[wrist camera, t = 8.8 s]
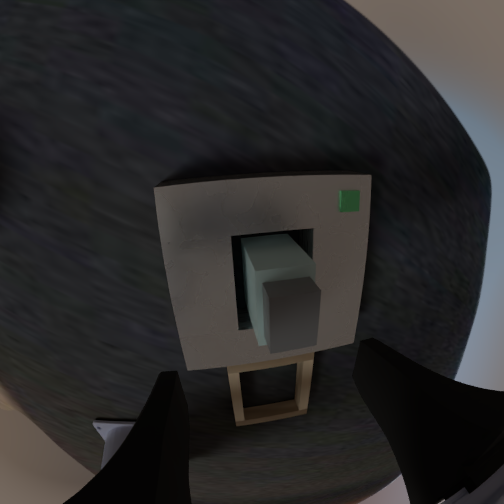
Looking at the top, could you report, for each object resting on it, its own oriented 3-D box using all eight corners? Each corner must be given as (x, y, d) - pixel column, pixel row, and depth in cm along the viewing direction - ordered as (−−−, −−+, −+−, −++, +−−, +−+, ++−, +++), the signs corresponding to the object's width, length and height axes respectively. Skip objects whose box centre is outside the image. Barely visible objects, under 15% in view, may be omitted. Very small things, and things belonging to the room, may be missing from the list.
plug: (287, 294, 20) (320, 353, 14) (244, 300, 20) (264, 364, 14) (287, 233, 18) (328, 276, 12) (240, 237, 18) (261, 285, 12)
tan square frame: (301, 402, 25) (306, 413, 23) (234, 414, 24) (236, 426, 22) (308, 340, 22) (314, 351, 20) (225, 353, 21) (227, 366, 19)
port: (339, 324, 22) (354, 344, 19) (187, 347, 20) (187, 372, 18) (351, 170, 17) (373, 175, 15) (160, 181, 16) (153, 188, 13)
